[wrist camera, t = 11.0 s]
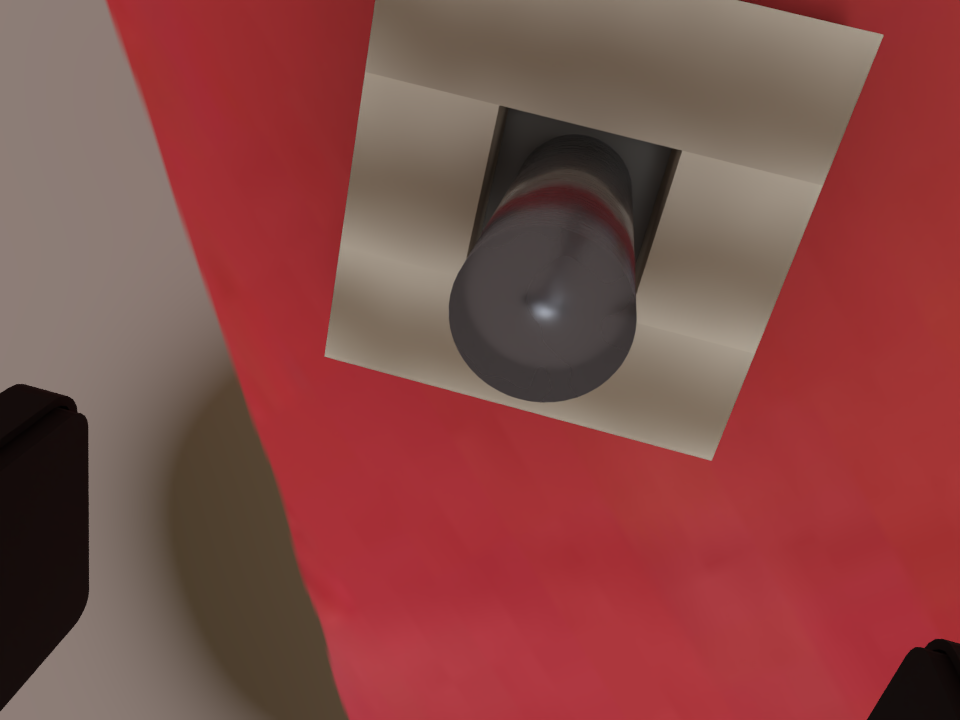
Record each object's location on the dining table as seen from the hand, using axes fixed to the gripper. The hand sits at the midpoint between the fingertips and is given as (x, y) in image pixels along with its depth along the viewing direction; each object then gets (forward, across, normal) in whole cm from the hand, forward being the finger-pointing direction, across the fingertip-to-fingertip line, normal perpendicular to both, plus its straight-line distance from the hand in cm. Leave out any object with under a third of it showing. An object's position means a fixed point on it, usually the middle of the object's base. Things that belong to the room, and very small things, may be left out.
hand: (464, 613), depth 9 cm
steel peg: (+21, 0, 0) cm, 21 cm away
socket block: (+22, 0, 0) cm, 22 cm away
